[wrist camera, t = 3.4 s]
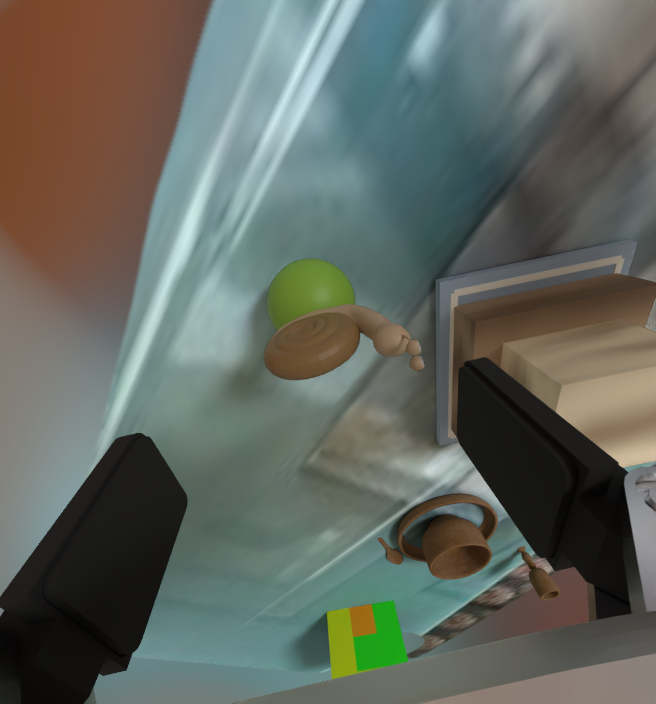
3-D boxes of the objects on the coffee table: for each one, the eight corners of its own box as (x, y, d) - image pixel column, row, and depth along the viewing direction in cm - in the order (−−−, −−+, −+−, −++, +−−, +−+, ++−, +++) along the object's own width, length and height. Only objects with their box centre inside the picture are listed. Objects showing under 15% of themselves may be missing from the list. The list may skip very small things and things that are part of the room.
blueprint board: (435, 279, 21) (440, 282, 20) (627, 239, 21) (639, 241, 20) (436, 439, 29) (440, 446, 28) (577, 410, 29) (585, 416, 28)
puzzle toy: (333, 639, 48) (341, 737, 40) (326, 611, 44) (334, 716, 35) (393, 628, 49) (414, 723, 40) (393, 599, 44) (417, 701, 35)
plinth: (453, 306, 22) (530, 360, 14) (616, 272, 21) (771, 310, 14) (450, 428, 27) (504, 509, 20) (578, 401, 27) (677, 474, 20)
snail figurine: (369, 308, 22) (438, 414, 11) (288, 337, 22) (282, 465, 12) (348, 233, 19) (411, 282, 9) (257, 268, 20) (212, 353, 9)
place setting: (500, 461, 32) (539, 512, 27) (534, 543, 41) (568, 594, 36) (358, 523, 35) (369, 580, 30) (419, 587, 44) (435, 640, 39)
